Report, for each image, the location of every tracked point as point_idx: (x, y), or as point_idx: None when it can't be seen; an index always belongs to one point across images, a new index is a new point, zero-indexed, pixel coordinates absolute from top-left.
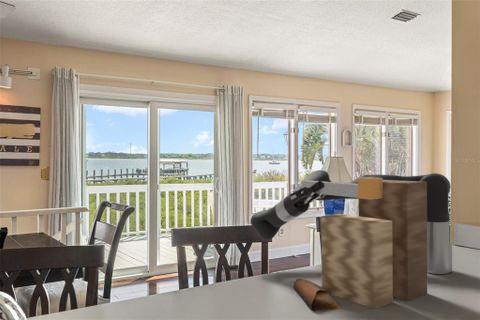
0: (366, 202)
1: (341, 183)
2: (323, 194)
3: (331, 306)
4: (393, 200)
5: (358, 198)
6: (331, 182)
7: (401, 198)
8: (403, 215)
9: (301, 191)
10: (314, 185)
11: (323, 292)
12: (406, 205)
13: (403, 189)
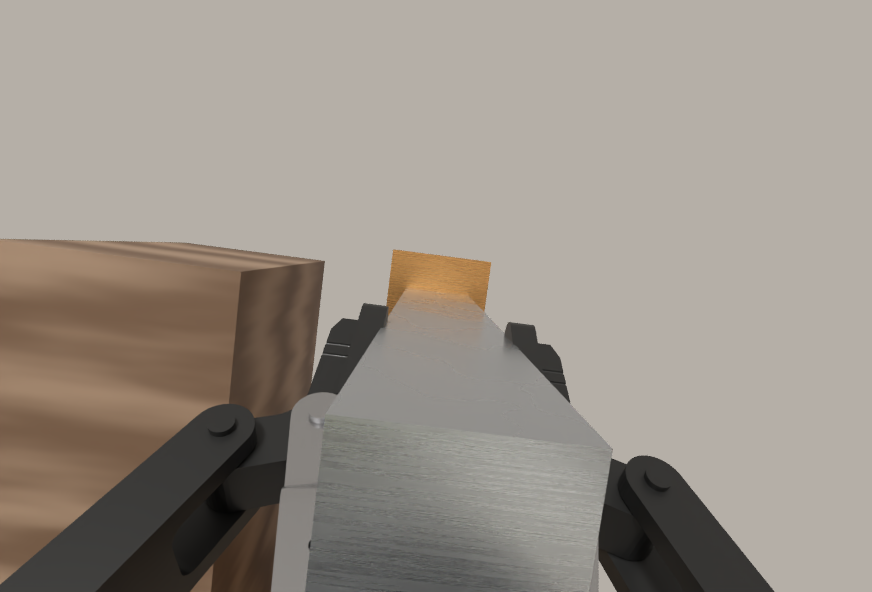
0: (250, 403)
1: (454, 306)
2: (218, 551)
3: None
4: (302, 340)
5: None
6: (434, 318)
7: (313, 322)
8: (307, 385)
9: (682, 579)
10: (563, 391)
11: None
12: (314, 344)
13: (319, 286)
